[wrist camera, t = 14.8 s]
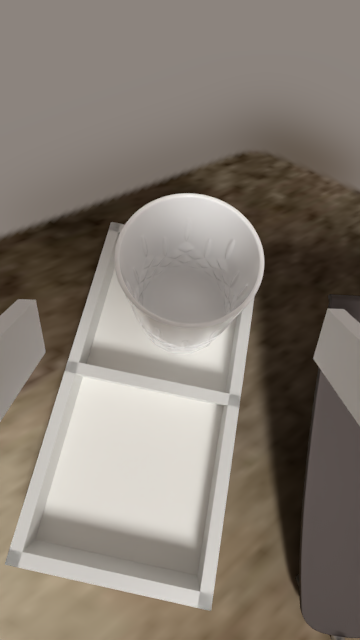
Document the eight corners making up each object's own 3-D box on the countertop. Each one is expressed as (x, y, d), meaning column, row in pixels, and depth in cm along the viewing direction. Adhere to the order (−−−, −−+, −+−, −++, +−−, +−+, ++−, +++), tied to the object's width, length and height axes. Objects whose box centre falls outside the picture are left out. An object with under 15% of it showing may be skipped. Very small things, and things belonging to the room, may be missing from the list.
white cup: (175, 254, 28) (179, 168, 18) (248, 309, 26) (293, 248, 17) (114, 320, 26) (82, 262, 16) (188, 382, 24) (202, 360, 15)
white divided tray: (26, 544, 22) (4, 564, 19) (116, 241, 29) (111, 221, 26) (205, 584, 21) (210, 610, 18) (251, 267, 29) (260, 251, 26)
